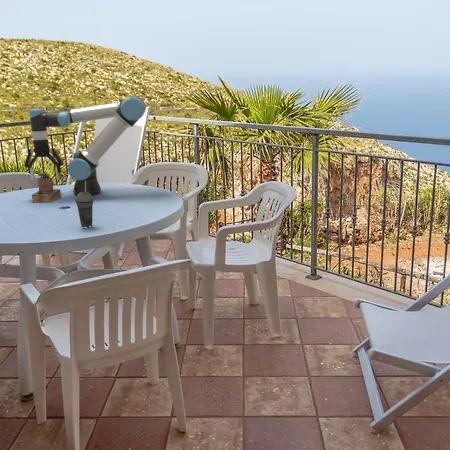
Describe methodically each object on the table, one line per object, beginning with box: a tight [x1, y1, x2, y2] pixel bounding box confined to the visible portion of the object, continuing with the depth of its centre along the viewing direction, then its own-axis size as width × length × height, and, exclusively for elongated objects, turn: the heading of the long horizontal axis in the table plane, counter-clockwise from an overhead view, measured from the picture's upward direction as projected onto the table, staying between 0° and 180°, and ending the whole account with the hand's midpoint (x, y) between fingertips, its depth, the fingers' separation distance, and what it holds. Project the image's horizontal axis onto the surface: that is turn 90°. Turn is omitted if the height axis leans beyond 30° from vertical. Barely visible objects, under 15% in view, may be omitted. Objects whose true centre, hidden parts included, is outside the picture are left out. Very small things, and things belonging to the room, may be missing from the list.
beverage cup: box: [75, 181, 94, 228], centre depth 217 cm, size 7×7×20 cm
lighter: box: [37, 172, 54, 193], centre depth 269 cm, size 8×3×10 cm, turn 84°
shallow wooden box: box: [31, 188, 62, 204], centre depth 271 cm, size 10×14×4 cm
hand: (45, 179), depth 269 cm, fingers open, 13 cm apart
